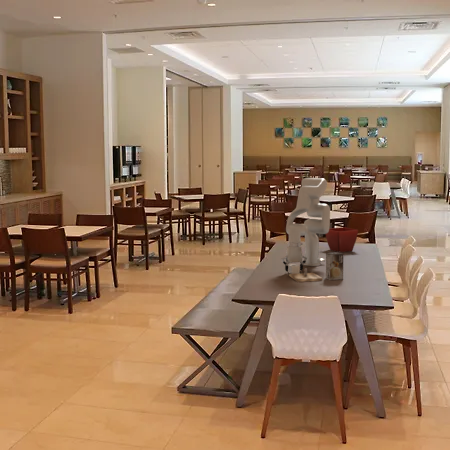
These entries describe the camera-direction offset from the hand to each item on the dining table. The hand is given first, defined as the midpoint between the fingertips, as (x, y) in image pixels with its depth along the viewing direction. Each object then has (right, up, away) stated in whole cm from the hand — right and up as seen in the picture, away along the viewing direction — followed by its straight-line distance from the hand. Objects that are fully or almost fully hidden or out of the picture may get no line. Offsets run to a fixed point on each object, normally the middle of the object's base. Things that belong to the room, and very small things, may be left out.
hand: (294, 270), depth 400 cm
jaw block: (0, -2, 0) cm, 2 cm away
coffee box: (+23, -4, -16) cm, 28 cm away
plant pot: (+46, +9, +83) cm, 95 cm away
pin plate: (+5, -4, -15) cm, 16 cm away
